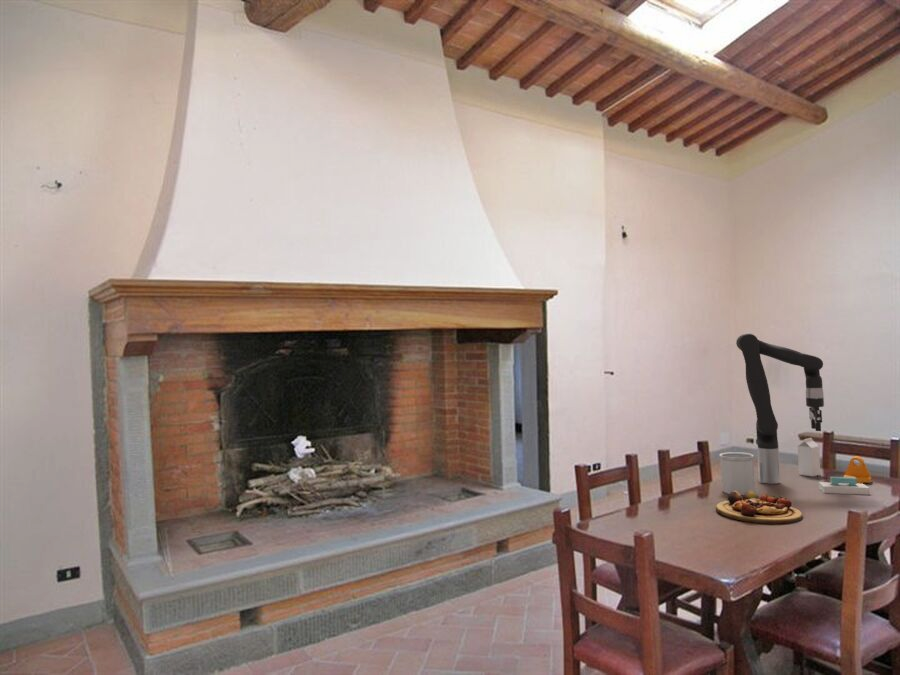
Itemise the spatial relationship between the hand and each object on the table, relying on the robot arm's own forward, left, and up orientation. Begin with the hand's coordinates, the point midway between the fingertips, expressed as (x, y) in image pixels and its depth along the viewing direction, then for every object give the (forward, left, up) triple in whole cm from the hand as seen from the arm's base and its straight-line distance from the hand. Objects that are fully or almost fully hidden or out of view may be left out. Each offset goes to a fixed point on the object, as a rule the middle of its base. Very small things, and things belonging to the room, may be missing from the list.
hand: (816, 429), depth 300 cm
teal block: (+6, -17, -26) cm, 32 cm away
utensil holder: (-39, -26, -26) cm, 54 cm away
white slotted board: (+6, -17, -26) cm, 32 cm away
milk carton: (0, +19, -26) cm, 32 cm away
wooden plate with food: (-36, -64, -27) cm, 78 cm away
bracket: (+18, +6, -26) cm, 33 cm away
